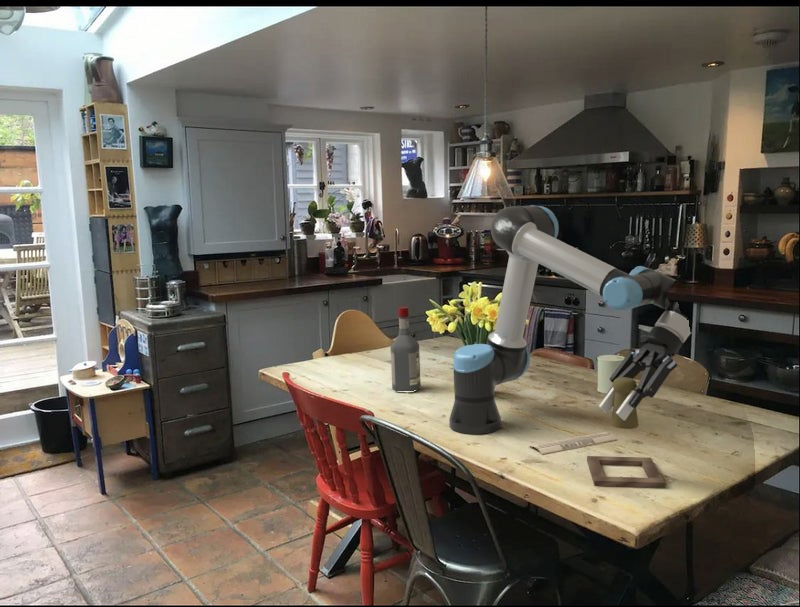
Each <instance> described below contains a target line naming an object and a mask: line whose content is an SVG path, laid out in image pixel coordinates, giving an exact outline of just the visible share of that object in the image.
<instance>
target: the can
mask: <svg viewBox="0 0 800 607" xmlns="http://www.w3.org/2000/svg"><path fill="white" fill-rule="evenodd" d="M625 357H626V356H622V355H617V354H603V355H599V356H597V357H596V358H597V389H596V390H597V392H599V393H601V394H605V395H606V394H607V392H608V391H609V390H610V388H611V387H612V385H613V383H612V382H611V381H610V380H609V378H610V377H611V375H612V374H613V373H614V372H615V370H616V369H617V368H618V366H619V365H620V364H621V362H622V361H623V360H624V358H625Z"/></svg>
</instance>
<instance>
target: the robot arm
mask: <svg viewBox="0 0 800 607" xmlns="http://www.w3.org/2000/svg"><path fill="white" fill-rule="evenodd" d="M490 233H491V234H490V235H491V237H492V239H493V241H494V243H495V244H496V245H497V246H499V247H500V248H501V249H503V250H504V251H506V252H507V254H508V262H507V265H506V266H507V267H506V271H505V275H504V276H505V277H504V282H503V287H502V292H501V297H500V301H499V306H498V312H497V315H496V316H497V317H496V322H495V326H494V327H495V328H494V331H493V332H491V333H489V334H488V337H487V342H486V344H485V343H474V344H467V345H463V346H462V347H459V348H458V349H456V350H455V352H454V354H453V362H452V368H453V385H454V386H453V387H454V389H453V390H454V392H453V393H454V402H453V405H452V409H451V411H450V416H449V423H448V424H449V428H450V429H451V430H453V431H455V432H457V433H461V434H462V433H463V434H466V435H468V434H469V435H470V434H471V435H481V434H482V435H483V434H489V433H492V432H493V433H494V432H496V431H498V430H500V429H501V427H502V416H501V414H500V412H499V409H498V406H497V402H496V398H495V395H496V394H495V387H496V386H498V385H501V384H505V383H506V382H507V383H508V382H512V381H515V380H517V379H519V378H520V377H522V376H524V375H525V373H526V372H527V371H528V369H529V367H530V364H531V363H530V362H531V355H530V352H528V351H529V349H528V348H527V346H528V345H527V341H526V340H525V339H524V335H525V334H524V333H525V329H526V324H527V318H528V314H529V311H530V310H529V309H530V305H531V300H532V296H533V291H534V287H535V283H536V282H535V281H536V278H537V274H538V267H539V265H541V266H543V267H545V268H547V269H549V270H551V271H552V272H554V273H556V274H558V275H560V276H562V277H564V278H565V279H568V280H569V281H571V282H573V283H575V284H578V285H579V286H580V287H583V288H585V289H587V290H589V291H590V292H593V294H596V295H598V296H600V297H602V298H603V301H604V302H605V303H606V305H607V307H609V308H611V309H613V310H614V311H628V310H632V309H634V308H637V307H640V306H645V305H649V304H652V305H654V306H657V307H659V308H660V309H663V310H664V311H663V313H662V314H661V315H660V317H659V318H658V319H657V321H656V322H655V323H654V326H653V327H652V328H651V330H650V331H649V333H648V334H647V335H646V337H645V344H643V346H641V347H640V348H639V349H635V348H633V347H630V348H629V349H628V351H627V354H626V356H624V357H625V358H624V360H623V361H622V362H621V364H620V365H619V366H618V368H617V369H616V370H615V372H614V373H613V374H612V375H611V377H610V378H609V380H610V381H611V382H612V383H613V382H614V380H615V379H616V378H620V377H627V378H632V379H635V377H636V376H638V375H639V374H640V373H641V372H643V373H642V375H641V378H640V380H639V382H638V384H637V387H634V389H635V390H636V391H634V390H632V391H631V392H630V394H629V395H628V397H627V398H626V399H625V401H624V402H623V404H622V405H621V406H620V408H619V409H618V410H617V412H616V414H617V415H618V416H619V417H620V418H621V419H622V420H626V418H627V417H628V416H629V414H630V413H631V412H632V410H633V409H634V408H636V409H637V408H638V406H639V405H640V403H641V402H642V400H643V399H644V398H647V397H649V398H651V399H652V398H654V397H655V396H656V393H657V392H658V390H659V389H660V387H661V386H662V385H663V384H664V383H665V380H666V379H667V377H668V376H669V375H670V373H671V372H672V371H673V370H674V369H675V368H677V367H678V363H677V362H676V361H675V360H674V358H673V357H674V356H676V355H677V354H678V351H680V349H681V348H682V347H683V344H684V343H685V342H686V341H687V339H688V338H689V336H690V335H691V334H692V332H690V327H689V319H688V317H687V316H685V315H684V314H682V313H681V311H680V309H679V304H678V302H673V303H670V302H669V300H668V295H667V294H668V290H669V289H670V287H671V286H672V285H673V284H674V282H675V281H676V279H675V278H672V277H670V276H668V275H665V274H663V273H660V272H659V271H657V270H655V269H653V268H647V267H646V266H643V265H639V266H636V267H634V269H632V270H631V271H630V272H629V273H628V272H627V273H626V272H625V271H622V270H621V269H618V267H617V268H616V267H614V266H613V265H611V264H608V263H607V262H604V261H602V260H601V259H598V258H597V257H594V256H592V255H590V254H588V253H587V252H584V251H582V250H580V249H579V248H576V247H574V246H572V245H569V244H567V243H566V242H564V241H562V240H560V239H558V238H557V237H558V236H559V221H558V219H557V217H556V216H555V213H553V211H552V210H550V209H549V208H548V207H546V206H545V207H544V206H541V205H534V204H532V205H531V204H530V205H521V206H517V205H516V206H515V205H514V206H506V207H504V208H502V209H500V210H499V211H498V212H497V213H496V214H495V215H494V216H493V218H492V220H491V223H490ZM687 319H688V320H687ZM614 399H615V391H614V389H613V385H612V387H611V388H610V390H609V391H608V392H607V394H605V397H604V398H603V400H602V401H601V402H600V403H599V405H598V407H599V408H600V409H601V410H602V411H603V412H604V413H605V414H606V415H607V414H609V413H610V411H611V410H612V409H613V406H614Z"/></svg>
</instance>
